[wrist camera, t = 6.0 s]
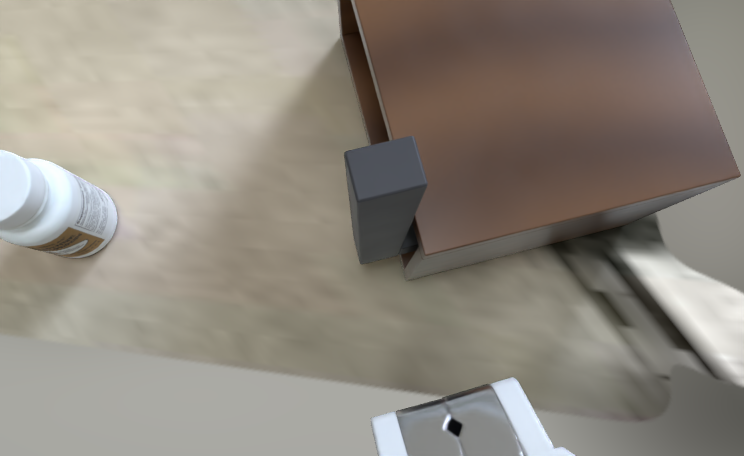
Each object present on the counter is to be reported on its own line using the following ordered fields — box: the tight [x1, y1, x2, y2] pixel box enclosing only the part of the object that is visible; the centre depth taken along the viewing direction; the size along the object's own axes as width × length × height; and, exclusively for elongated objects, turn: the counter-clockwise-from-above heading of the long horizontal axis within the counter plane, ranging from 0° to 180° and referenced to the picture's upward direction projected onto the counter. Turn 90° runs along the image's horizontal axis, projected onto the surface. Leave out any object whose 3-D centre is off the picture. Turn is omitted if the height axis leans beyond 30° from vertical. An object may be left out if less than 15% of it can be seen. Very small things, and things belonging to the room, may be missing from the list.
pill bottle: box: [0, 150, 117, 258], centre depth 27 cm, size 4×4×8 cm
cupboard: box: [338, 0, 741, 281], centre depth 28 cm, size 16×14×10 cm
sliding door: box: [344, 136, 428, 264], centre depth 23 cm, size 7×4×16 cm, turn 14°
